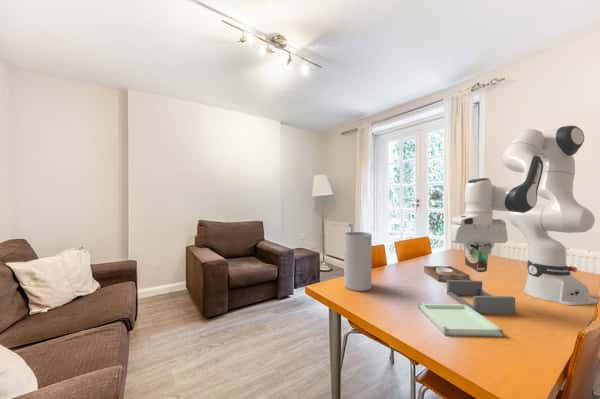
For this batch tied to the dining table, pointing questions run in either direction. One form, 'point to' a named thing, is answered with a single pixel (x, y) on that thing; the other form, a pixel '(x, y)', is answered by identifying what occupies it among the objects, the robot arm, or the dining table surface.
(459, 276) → the shallow brown square box
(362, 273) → the cylinder vase
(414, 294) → the dining table surface
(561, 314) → the dining table surface
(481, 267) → the food container
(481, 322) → the tray
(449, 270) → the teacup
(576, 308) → the dining table surface
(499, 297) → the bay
